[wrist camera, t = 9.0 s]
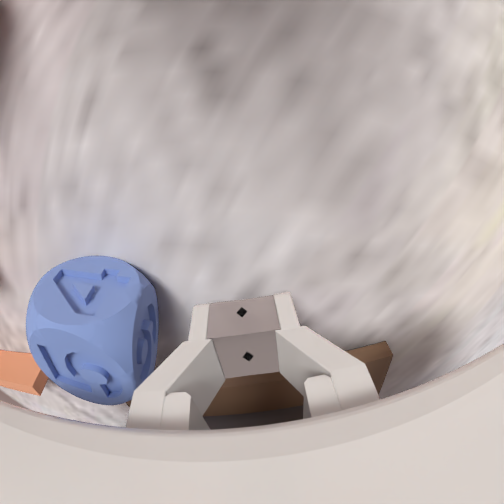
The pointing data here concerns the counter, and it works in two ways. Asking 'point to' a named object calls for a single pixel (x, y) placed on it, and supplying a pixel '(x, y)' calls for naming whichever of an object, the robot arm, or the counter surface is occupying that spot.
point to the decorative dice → (94, 328)
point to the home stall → (21, 372)
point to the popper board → (278, 394)
